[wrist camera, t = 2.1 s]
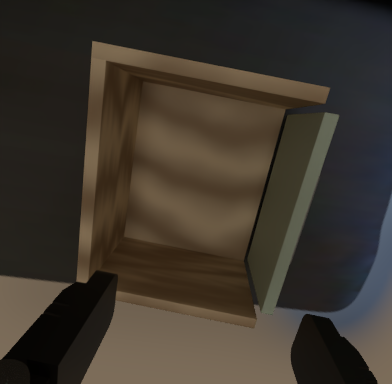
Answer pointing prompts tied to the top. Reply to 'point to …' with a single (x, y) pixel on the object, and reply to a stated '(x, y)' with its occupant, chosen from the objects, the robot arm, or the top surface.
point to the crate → (178, 177)
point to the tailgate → (288, 201)
